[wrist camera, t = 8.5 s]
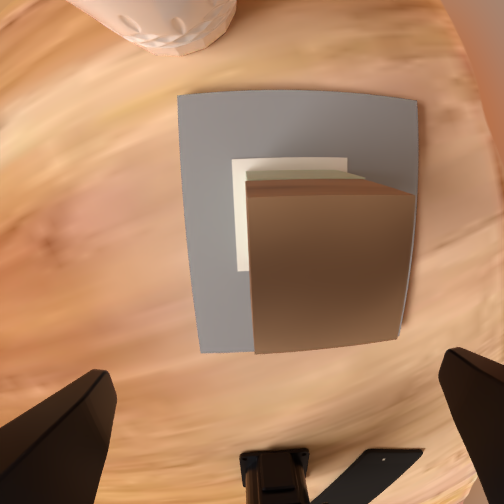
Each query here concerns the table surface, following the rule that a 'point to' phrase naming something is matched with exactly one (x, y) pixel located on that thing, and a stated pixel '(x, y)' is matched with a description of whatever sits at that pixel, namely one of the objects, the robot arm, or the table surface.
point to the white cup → (163, 22)
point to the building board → (265, 159)
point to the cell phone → (368, 476)
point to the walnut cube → (326, 262)
